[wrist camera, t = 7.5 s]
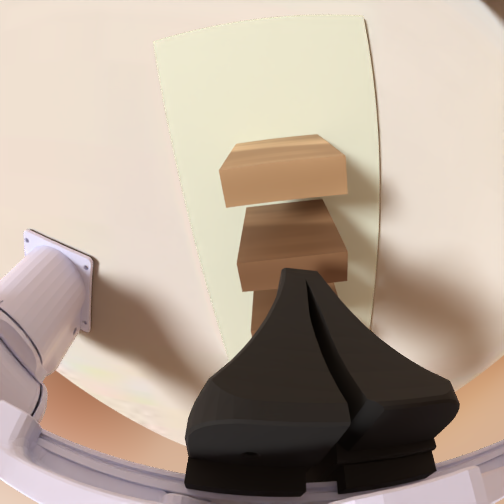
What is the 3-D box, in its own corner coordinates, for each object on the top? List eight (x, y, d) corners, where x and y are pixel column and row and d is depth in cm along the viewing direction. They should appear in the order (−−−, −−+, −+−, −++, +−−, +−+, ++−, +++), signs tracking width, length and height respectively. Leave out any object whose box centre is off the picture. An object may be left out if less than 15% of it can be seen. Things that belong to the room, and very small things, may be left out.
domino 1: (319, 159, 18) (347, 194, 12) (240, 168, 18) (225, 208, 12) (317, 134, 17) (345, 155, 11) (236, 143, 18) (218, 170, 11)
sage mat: (362, 365, 27) (363, 368, 27) (235, 377, 29) (235, 380, 29) (361, 17, 13) (363, 15, 13) (155, 42, 15) (152, 41, 14)
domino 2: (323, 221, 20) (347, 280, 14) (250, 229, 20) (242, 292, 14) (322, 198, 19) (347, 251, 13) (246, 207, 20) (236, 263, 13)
